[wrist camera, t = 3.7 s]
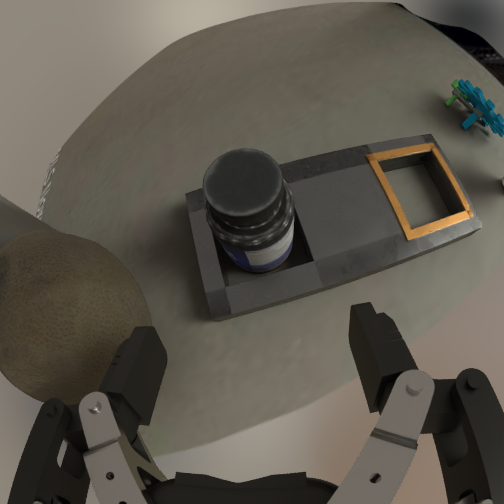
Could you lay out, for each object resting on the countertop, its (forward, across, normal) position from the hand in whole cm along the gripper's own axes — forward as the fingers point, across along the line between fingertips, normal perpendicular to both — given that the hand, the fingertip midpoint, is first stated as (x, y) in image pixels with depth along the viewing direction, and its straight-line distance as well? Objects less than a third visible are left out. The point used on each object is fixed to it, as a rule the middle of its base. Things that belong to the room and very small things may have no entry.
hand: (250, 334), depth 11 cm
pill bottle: (+16, 0, +4) cm, 16 cm away
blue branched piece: (+26, -34, -7) cm, 43 cm away
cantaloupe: (+11, +16, +8) cm, 21 cm away
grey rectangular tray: (+16, -8, +2) cm, 19 cm away
